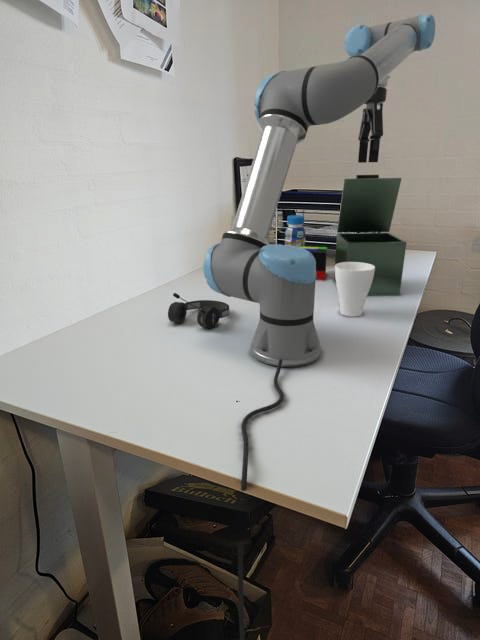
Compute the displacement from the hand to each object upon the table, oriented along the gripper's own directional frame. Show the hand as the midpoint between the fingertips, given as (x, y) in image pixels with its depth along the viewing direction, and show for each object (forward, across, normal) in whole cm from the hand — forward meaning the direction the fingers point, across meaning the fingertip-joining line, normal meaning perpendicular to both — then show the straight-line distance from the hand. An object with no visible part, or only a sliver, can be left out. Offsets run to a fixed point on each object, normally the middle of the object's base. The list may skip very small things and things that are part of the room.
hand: (367, 162), depth 131 cm
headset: (+40, -40, +52) cm, 77 cm away
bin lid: (+14, -5, 0) cm, 14 cm away
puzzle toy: (+40, +5, +16) cm, 43 cm away
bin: (+39, -10, 0) cm, 41 cm away
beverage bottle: (+40, +22, +20) cm, 50 cm away
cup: (+40, -35, +10) cm, 54 cm away
